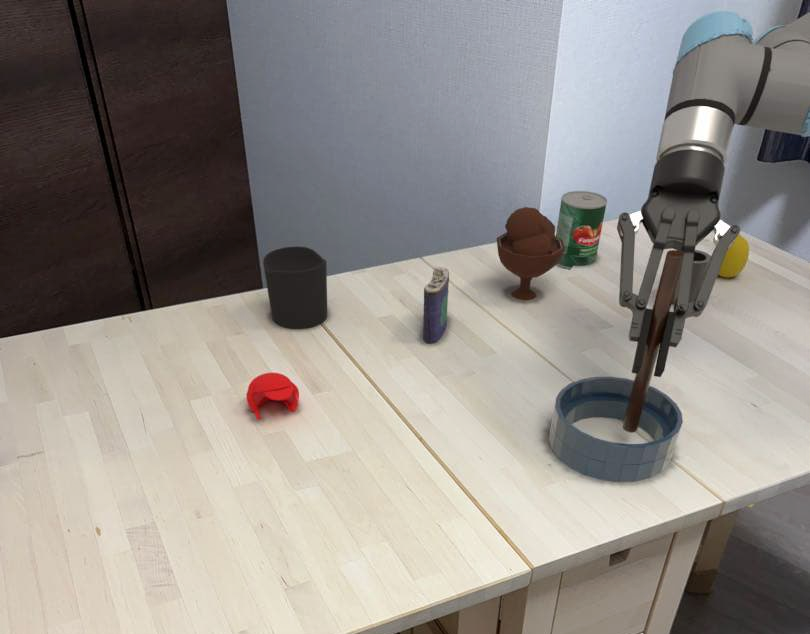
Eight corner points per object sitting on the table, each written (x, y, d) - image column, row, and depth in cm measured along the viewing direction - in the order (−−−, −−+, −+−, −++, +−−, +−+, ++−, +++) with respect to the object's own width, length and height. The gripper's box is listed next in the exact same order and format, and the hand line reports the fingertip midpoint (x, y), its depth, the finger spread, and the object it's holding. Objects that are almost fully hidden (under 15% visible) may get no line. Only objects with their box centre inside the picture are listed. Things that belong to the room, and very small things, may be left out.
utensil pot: (700, 299, 126) (714, 253, 120) (694, 313, 122) (708, 265, 116) (667, 292, 127) (679, 246, 122) (660, 306, 124) (672, 259, 118)
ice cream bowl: (549, 318, 120) (563, 224, 110) (482, 306, 123) (491, 213, 112) (562, 291, 127) (577, 200, 117) (499, 280, 130) (508, 191, 120)
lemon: (739, 288, 129) (755, 242, 124) (706, 283, 130) (720, 237, 125) (740, 275, 133) (755, 230, 127) (708, 270, 134) (721, 225, 129)
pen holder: (336, 310, 121) (332, 249, 114) (321, 337, 114) (316, 275, 108) (280, 304, 122) (273, 244, 115) (262, 332, 116) (254, 269, 109)
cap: (238, 411, 100) (231, 372, 96) (273, 394, 103) (268, 355, 99) (275, 436, 96) (270, 396, 92) (310, 417, 99) (307, 378, 95)
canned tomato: (584, 273, 133) (596, 210, 125) (544, 263, 136) (553, 200, 128) (602, 258, 137) (614, 196, 130) (562, 248, 140) (572, 187, 133)
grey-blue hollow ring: (680, 434, 97) (693, 394, 93) (654, 501, 87) (667, 460, 83) (568, 404, 102) (576, 365, 98) (532, 465, 92) (538, 424, 88)
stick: (638, 426, 93) (686, 251, 77) (635, 434, 91) (683, 258, 76) (624, 422, 93) (669, 248, 78) (620, 430, 92) (665, 254, 77)
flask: (432, 319, 119) (435, 253, 112) (450, 322, 119) (455, 256, 111) (420, 347, 113) (422, 279, 105) (439, 350, 112) (442, 282, 105)
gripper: (750, 189, 85) (709, 390, 85) (619, 175, 88) (579, 370, 88) (770, 152, 78) (725, 373, 77) (625, 139, 80) (582, 351, 80)
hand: (647, 371), depth 82 cm, fingers closed on stick, 2 cm apart
